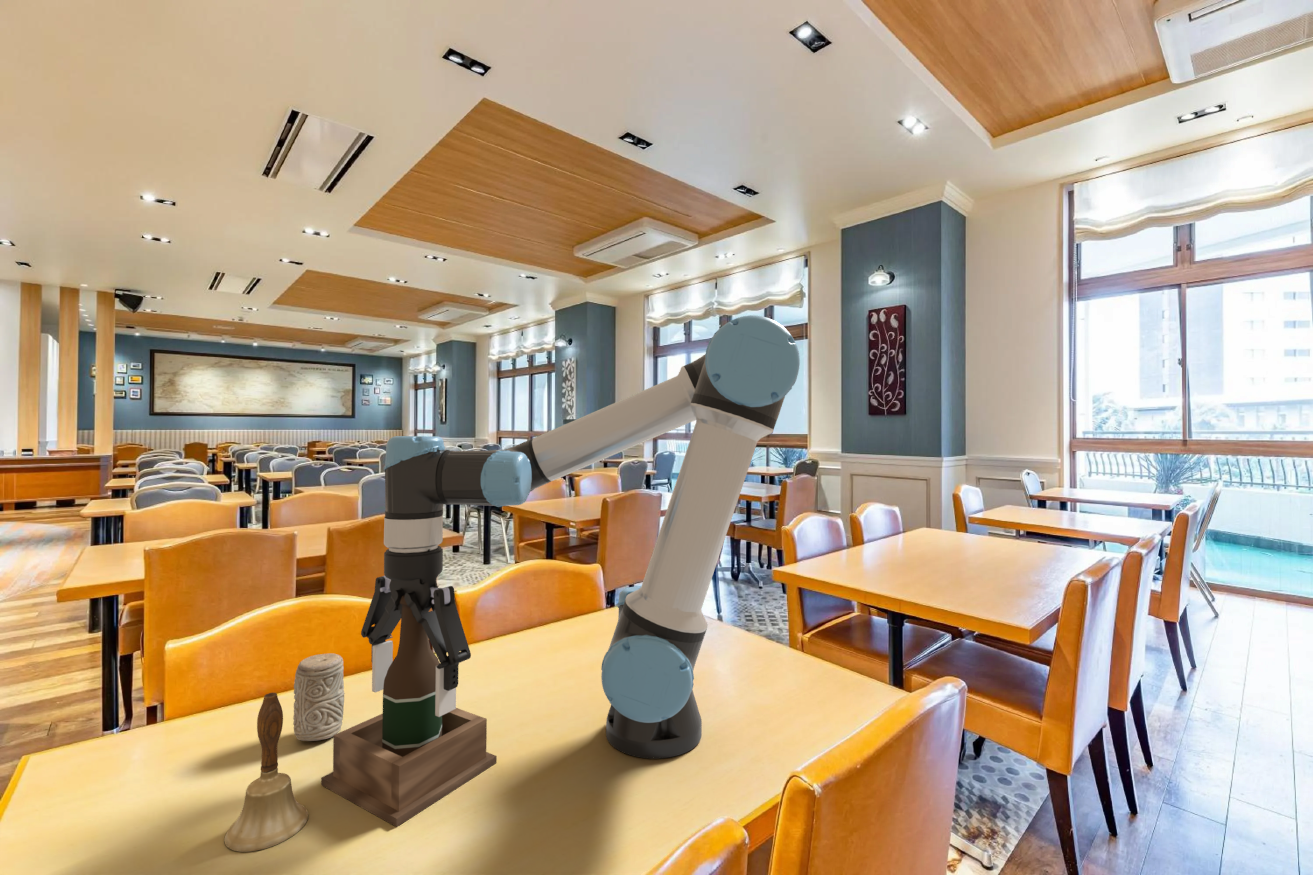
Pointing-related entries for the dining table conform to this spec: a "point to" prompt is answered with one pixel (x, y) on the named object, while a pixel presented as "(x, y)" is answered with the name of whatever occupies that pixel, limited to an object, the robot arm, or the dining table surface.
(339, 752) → the box
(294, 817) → the hand bell
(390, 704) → the beer bottle
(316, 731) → the carving
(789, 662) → the dining table surface
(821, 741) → the dining table surface
